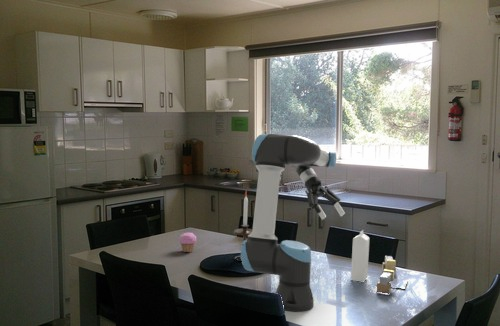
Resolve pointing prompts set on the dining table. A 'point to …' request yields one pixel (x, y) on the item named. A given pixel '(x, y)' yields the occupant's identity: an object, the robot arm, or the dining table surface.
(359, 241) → the milk
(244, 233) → the candlestick
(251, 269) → the robot arm
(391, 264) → the shaft rig
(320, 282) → the dining table surface
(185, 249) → the cupcake
